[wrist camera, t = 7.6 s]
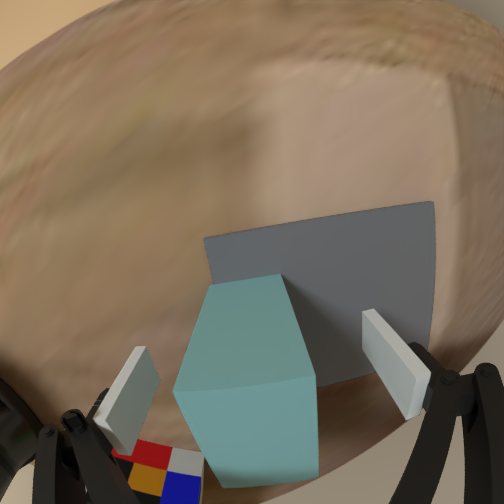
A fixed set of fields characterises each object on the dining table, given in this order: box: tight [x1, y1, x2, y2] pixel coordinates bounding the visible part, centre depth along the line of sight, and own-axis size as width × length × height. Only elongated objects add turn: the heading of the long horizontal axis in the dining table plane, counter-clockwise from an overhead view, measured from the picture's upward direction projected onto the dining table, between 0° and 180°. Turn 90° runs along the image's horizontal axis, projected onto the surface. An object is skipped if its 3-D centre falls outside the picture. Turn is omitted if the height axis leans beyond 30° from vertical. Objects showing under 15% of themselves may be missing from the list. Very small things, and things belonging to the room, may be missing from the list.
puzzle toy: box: [86, 439, 204, 504], centre depth 19 cm, size 10×10×10 cm
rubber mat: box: [204, 201, 436, 388], centre depth 18 cm, size 16×13×1 cm
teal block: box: [173, 274, 319, 488], centre depth 13 cm, size 4×7×10 cm, turn 9°
